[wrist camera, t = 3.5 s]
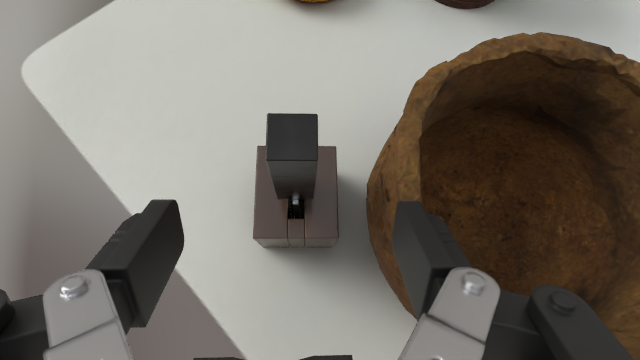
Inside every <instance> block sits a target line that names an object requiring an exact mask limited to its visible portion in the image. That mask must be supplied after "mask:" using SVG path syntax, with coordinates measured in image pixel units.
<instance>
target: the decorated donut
mask: <svg viewBox="0 0 640 360" xmlns="http://www.w3.org/2000/svg"><path fill="white" fill-rule="evenodd" d="M300 1H307V2H318V1H328V0H300Z"/></svg>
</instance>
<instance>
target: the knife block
mask: <svg viewBox="0 0 640 360" xmlns="http://www.w3.org/2000/svg"><path fill="white" fill-rule="evenodd" d="M265 159H266V146H258V147H257V164H256V185H255V207H254V229H253V239H255V240H256V241H257V242H258V243H259V244H260V245H261V246H262V247H304V246H305V247H332V246H333V244H334V243H335V242H336V240H337V239H338V237H339V234H338V197H337V161H336V147H335V146H318V165H317V174H316V183H315V192H314V199H305V219H291V199H278V198H277V195H276V192H275V189H274V185H273V182H272V179H271V176H270V173H269V169H268V166H267V163H266V160H265Z"/></svg>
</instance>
